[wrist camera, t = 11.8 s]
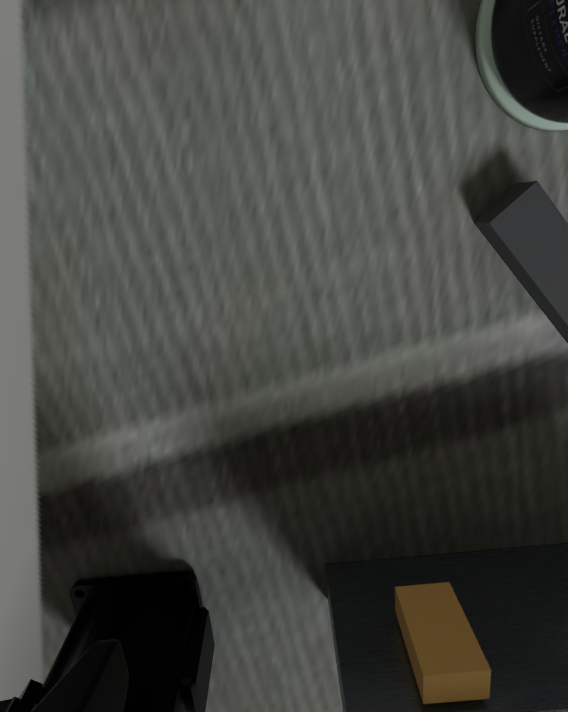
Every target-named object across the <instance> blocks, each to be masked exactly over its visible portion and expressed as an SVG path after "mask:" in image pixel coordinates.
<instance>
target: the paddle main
mask: <svg viewBox="0 0 568 712" xmlns="http://www.w3.org/2000/svg"><path fill="white" fill-rule="evenodd" d="M395 612H396V615H397V619H398V622H399V625H400V629H401V632H402V635H403V639H404V642H405V645H406V648H407V652H408V655H409V658H410V662H411V665H412V668H413V672H414V675H415V678H416V682H417V685H418V688H419V691H420V695H421V698H422V701H423V704H431V703H443V702H455V701H467V700H479V699H489V696H490V681H491V669H490V666H489V664H488V662H487V660H486V658H485V656H484V654H483V652H482V650H481V648H480V645H479V643H478V641H477V639H476V637H475V635H474V633H473V631H472V629H471V626H470V624H469V622H468V620H467V618H466V616H465V614H464V612H463V610H462V607H461V605H460V603H459V601H458V599H457V597H456V595H455V593H454V591H453V588H452V586H451V584H450V582H445V583H433V584H421V585H410V586H398V587H395Z"/></svg>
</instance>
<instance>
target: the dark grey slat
mask: <svg viewBox="0 0 568 712" xmlns="http://www.w3.org/2000/svg"><path fill="white" fill-rule="evenodd" d="M474 223H475V225H476V226H477V227H478V229H479V230H480V231H481V232H482V234H483V235H484V236H485V238H486V239H487V240H488V241H489V243H490V244H491V245H492V247H493V248H494V249H495V250H496V252H497V253H498V254H499V256H500V257H501V258H502V260H503V261H504V262H505V263H506V265H507V266H508V267H509V269H510V270H511V271H512V272H513V274H514V275H515V276H516V278H517V279H518V280H519V281H520V283H521V284H522V285H523V287H524V288H525V289H526V290H527V292H528V293H529V294H530V296H531V297H532V298H533V299H534V301H535V302H536V303H537V305H538V306H539V307H540V308H541V310H542V311H543V312H544V314H545V315H546V316H547V317H548V319H549V320H550V321H551V323H552V324H553V325H554V326H555V328H556V329H557V330H558V332H559V333H560V334H561V336H562V337H563V338H564V339H565V341H566V342H567V343H568V223H567V222H566V221H565V219H564V218H563V216H562V215H561V214H560V212H559V211H558V209H557V208H556V207H555V205H554V204H553V202H552V201H551V200H550V198H549V197H548V195H547V194H546V193H545V191H544V190H543V188H542V187H541V186H540V184H539V183H538V181H534V182H526V183H518V184H517V185H515V186H514V187H513V188H512V189H511V190H510V191H509V192H508V193H506V194H505V195H504V196H503V197H502V198H501V199H500V200H499V201H497V202H496V203H495V204H494V205H493V206H492V207H491V208H489V209H488V210H487V211H486V212H485V213H484V214H483V215H482V216H480V217H479V218H478V219H477V220H476V221H475V222H474Z"/></svg>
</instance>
